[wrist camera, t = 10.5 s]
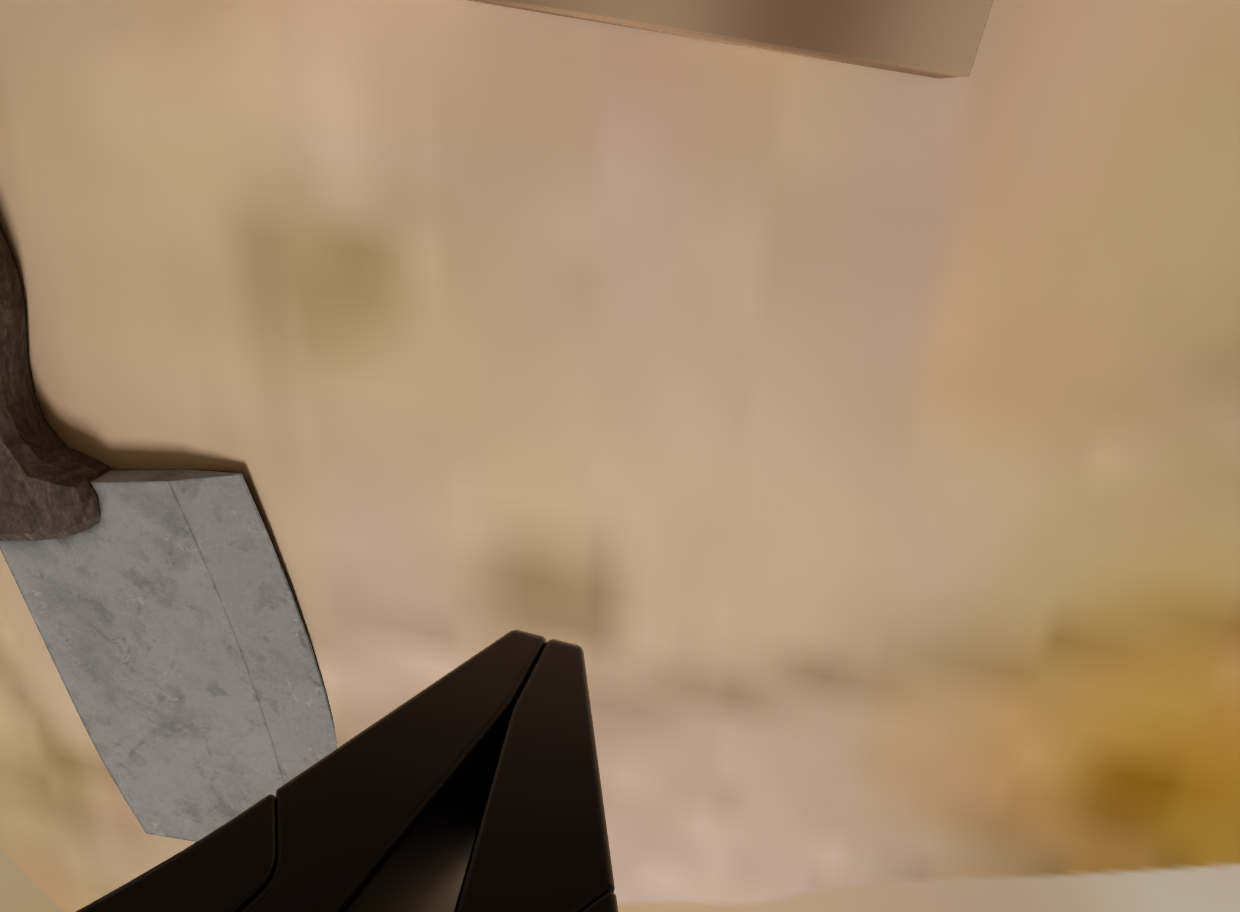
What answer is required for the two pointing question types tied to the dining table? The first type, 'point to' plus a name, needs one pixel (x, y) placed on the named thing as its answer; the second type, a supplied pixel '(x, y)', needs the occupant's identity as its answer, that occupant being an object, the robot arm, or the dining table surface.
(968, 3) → the tan board
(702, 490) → the dining table surface
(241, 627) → the cleaver
